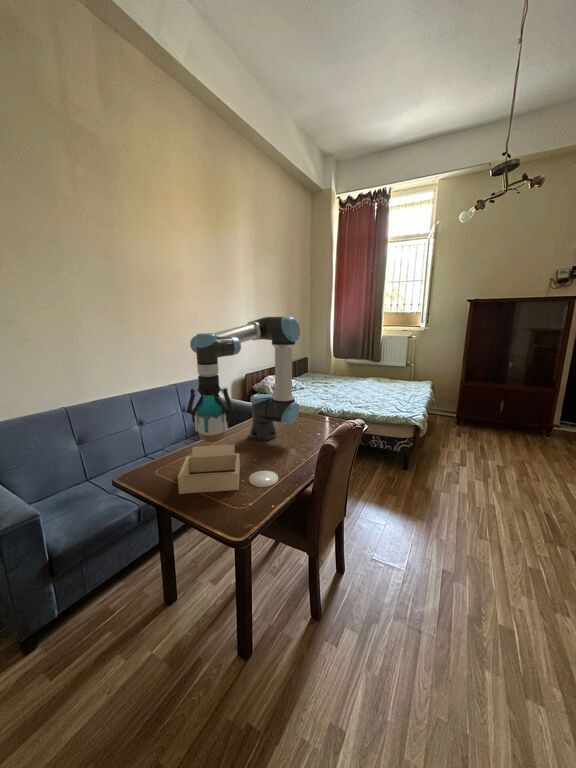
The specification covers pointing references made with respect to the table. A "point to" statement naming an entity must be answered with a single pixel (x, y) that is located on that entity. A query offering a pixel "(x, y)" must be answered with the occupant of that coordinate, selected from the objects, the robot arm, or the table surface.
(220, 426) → the vase
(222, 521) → the table surface
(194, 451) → the carton
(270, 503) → the table surface
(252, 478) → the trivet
